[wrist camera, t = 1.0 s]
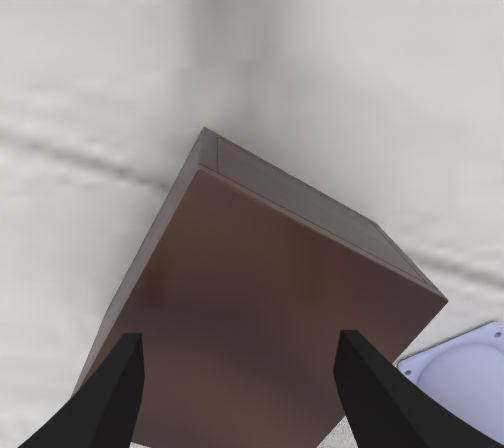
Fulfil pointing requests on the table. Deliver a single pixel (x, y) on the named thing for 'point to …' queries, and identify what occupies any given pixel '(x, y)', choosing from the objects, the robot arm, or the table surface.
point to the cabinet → (255, 305)
